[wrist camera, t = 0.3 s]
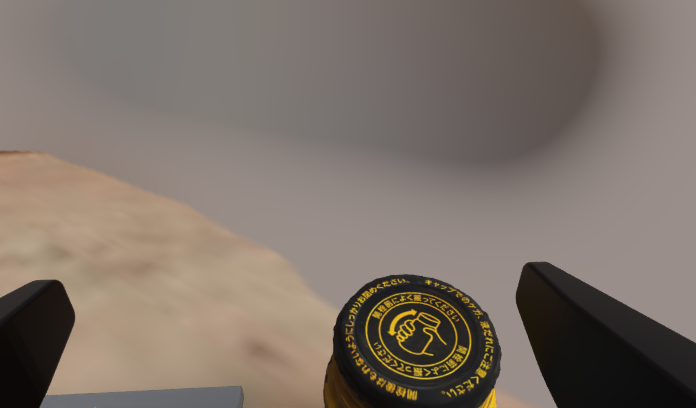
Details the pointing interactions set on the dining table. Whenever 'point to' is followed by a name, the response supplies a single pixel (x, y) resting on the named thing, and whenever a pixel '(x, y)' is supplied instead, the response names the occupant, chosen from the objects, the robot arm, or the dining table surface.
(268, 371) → the dining table surface
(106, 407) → the grey board
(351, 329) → the condiment
